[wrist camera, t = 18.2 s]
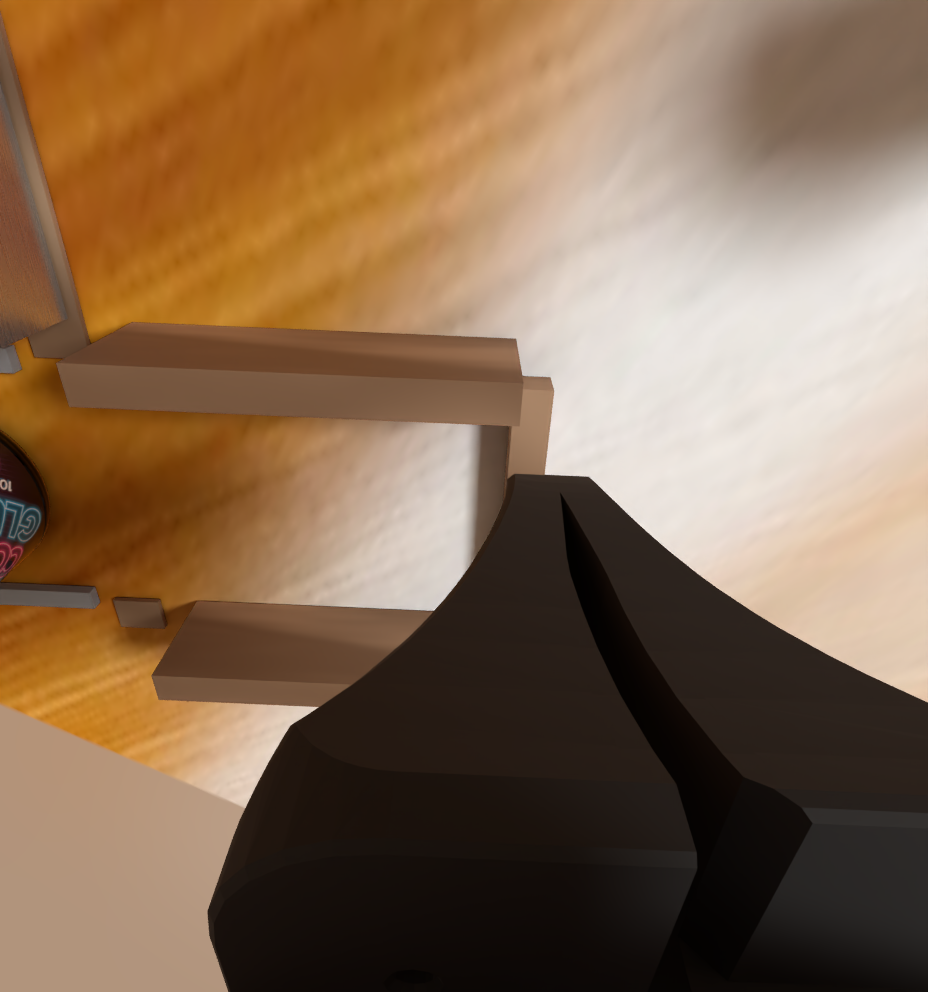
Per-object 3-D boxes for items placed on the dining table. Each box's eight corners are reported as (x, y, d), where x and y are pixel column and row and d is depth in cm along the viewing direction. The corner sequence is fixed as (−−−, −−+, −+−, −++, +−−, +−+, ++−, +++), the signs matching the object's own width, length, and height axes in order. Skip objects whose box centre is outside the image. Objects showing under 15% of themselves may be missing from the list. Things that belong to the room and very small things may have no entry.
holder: (520, 641, 26) (526, 720, 22) (124, 623, 26) (68, 699, 22) (635, -386, 12) (697, -594, 9) (-208, -419, 12) (-482, -640, 9)
